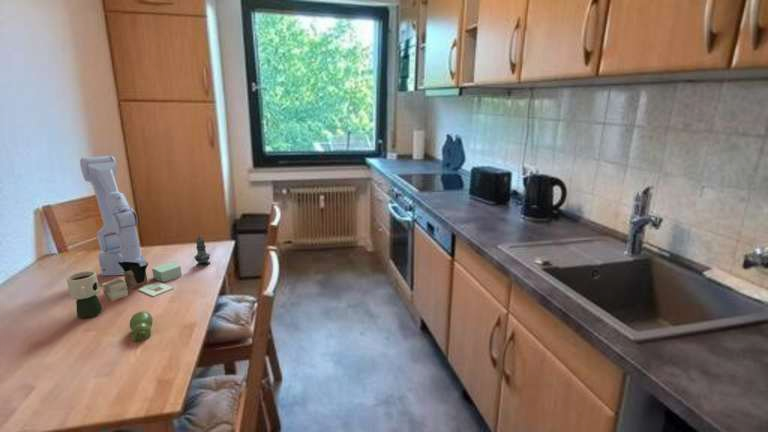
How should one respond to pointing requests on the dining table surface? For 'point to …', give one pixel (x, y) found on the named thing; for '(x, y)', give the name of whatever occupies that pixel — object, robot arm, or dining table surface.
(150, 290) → the card
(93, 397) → the dining table surface
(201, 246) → the dark green chess piece
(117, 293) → the ash block
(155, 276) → the base block
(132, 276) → the walnut block
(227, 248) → the dining table surface
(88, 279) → the character mug
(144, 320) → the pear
